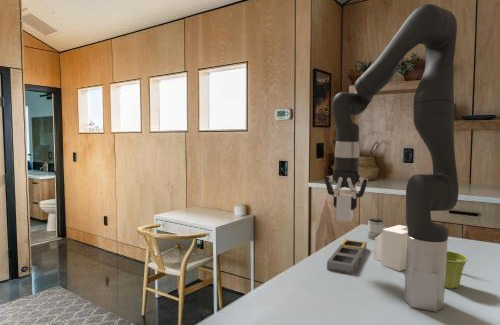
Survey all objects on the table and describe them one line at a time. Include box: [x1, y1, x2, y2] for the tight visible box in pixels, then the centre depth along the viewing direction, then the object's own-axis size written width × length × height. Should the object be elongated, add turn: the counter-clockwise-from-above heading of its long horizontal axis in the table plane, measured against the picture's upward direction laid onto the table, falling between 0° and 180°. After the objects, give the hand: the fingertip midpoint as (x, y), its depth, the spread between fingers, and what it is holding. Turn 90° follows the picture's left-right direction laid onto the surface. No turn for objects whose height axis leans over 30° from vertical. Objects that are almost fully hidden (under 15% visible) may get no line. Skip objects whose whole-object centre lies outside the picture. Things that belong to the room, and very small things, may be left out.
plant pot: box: [445, 250, 468, 289], centre depth 105 cm, size 9×9×9 cm
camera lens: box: [367, 218, 385, 240], centre depth 152 cm, size 6×6×8 cm
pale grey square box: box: [335, 193, 354, 223], centre depth 117 cm, size 4×4×8 cm
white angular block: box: [373, 224, 408, 272], centre depth 123 cm, size 11×11×12 cm
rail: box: [326, 239, 368, 275], centre depth 127 cm, size 28×8×3 cm, turn 154°
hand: (345, 208), depth 117 cm, fingers closed on pale grey square box, 4 cm apart
